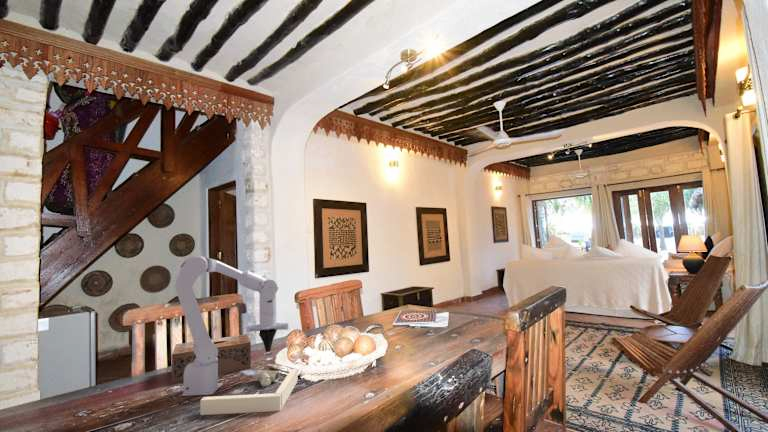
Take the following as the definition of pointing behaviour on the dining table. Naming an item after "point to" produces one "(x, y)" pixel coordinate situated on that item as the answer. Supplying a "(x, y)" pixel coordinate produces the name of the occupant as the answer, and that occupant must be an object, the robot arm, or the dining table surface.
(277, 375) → the pipe fitting
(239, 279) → the robot arm
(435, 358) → the dining table surface
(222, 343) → the tissue box cover
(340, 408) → the dining table surface
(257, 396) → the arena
